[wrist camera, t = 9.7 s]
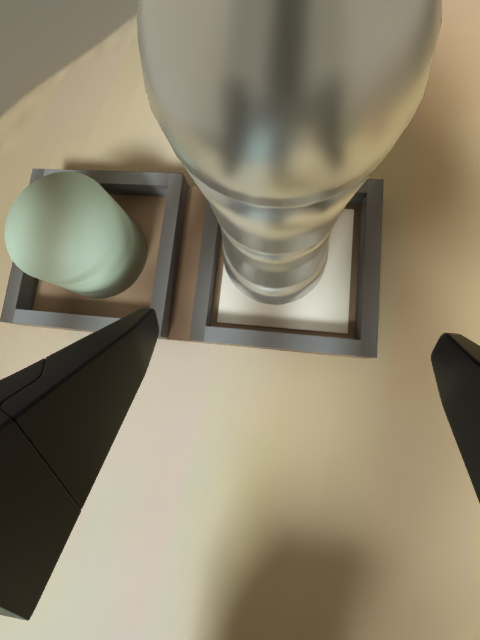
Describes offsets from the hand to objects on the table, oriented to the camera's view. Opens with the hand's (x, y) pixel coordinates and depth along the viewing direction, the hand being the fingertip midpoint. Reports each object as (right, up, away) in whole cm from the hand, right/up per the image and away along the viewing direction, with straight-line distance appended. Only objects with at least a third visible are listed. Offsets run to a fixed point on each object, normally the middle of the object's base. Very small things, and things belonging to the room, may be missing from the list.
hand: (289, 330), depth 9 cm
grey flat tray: (-5, +5, +14) cm, 15 cm away
